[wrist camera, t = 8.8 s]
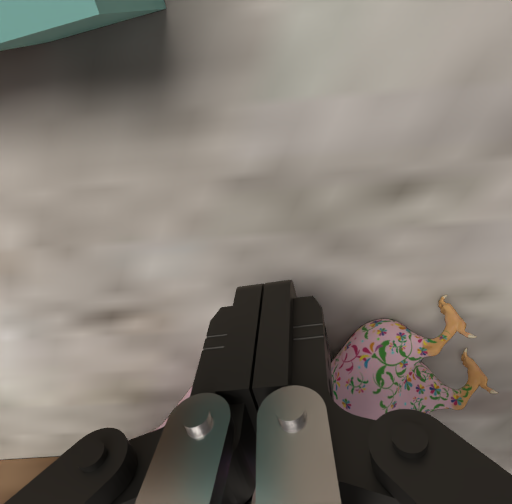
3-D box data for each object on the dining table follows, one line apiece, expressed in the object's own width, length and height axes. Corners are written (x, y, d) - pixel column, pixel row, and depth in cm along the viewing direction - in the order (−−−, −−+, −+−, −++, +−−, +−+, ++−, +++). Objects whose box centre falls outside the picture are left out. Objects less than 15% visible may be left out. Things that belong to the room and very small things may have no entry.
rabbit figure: (408, 230, 13) (41, 413, 16) (529, 360, 8) (-55, 601, 10) (462, 359, 16) (140, 496, 18) (581, 521, 10) (104, 681, 13)
